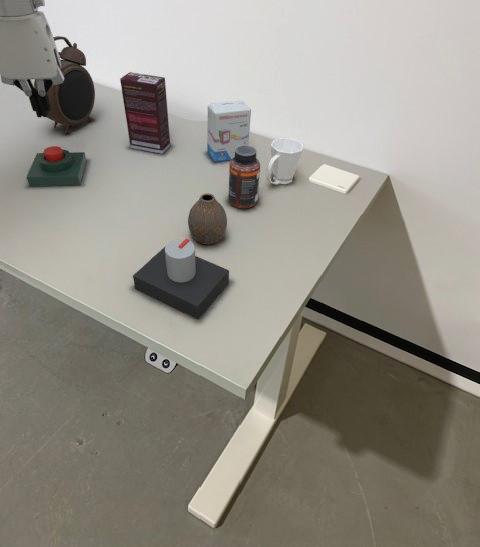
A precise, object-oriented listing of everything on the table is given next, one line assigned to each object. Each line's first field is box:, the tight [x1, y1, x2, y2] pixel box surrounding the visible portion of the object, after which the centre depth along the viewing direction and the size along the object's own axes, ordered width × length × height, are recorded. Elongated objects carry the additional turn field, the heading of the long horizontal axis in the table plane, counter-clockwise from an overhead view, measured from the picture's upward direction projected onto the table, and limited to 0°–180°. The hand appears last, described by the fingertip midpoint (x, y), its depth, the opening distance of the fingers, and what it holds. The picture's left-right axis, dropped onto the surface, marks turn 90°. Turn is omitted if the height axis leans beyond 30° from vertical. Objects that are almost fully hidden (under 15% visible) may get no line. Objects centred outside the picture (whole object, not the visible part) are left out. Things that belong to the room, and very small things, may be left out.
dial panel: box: [132, 245, 230, 320], centre depth 66 cm, size 12×9×3 cm
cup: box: [266, 137, 305, 185], centre depth 89 cm, size 7×10×8 cm
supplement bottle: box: [228, 145, 261, 209], centre depth 81 cm, size 6×6×11 cm
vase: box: [187, 192, 228, 245], centre depth 73 cm, size 7×7×9 cm
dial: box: [164, 238, 196, 283], centre depth 63 cm, size 4×4×5 cm
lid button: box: [43, 145, 64, 161], centre depth 87 cm, size 4×4×2 cm
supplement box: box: [119, 71, 171, 155], centre depth 94 cm, size 9×5×16 cm, turn 73°
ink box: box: [206, 100, 252, 163], centre depth 95 cm, size 9×5×12 cm, turn 112°
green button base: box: [25, 148, 87, 188], centre depth 88 cm, size 10×10×4 cm
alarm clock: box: [33, 35, 96, 134], centre depth 99 cm, size 15×7×20 cm, turn 154°
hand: (43, 114), depth 81 cm, fingers closed
